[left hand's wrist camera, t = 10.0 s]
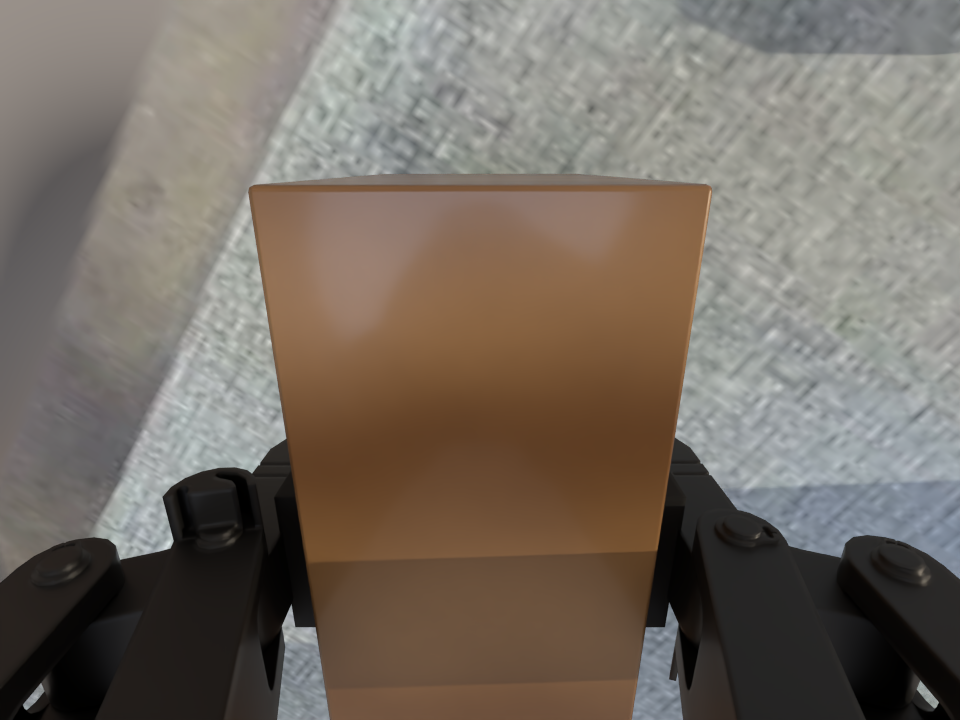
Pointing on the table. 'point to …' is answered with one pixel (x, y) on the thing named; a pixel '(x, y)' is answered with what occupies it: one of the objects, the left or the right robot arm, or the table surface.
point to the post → (480, 429)
